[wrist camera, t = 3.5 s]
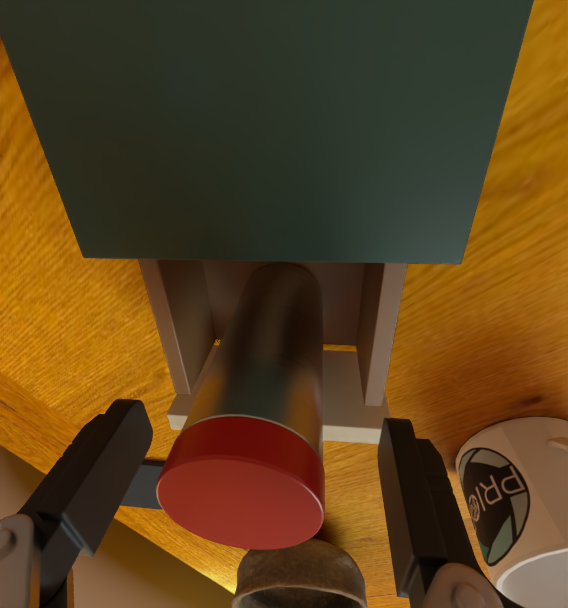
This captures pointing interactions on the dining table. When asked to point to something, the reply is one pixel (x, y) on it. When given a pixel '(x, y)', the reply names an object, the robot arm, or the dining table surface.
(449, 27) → the cabinet
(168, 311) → the drawer
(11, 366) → the dining table surface
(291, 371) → the jar
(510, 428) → the mug
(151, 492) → the mat
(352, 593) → the bowl
